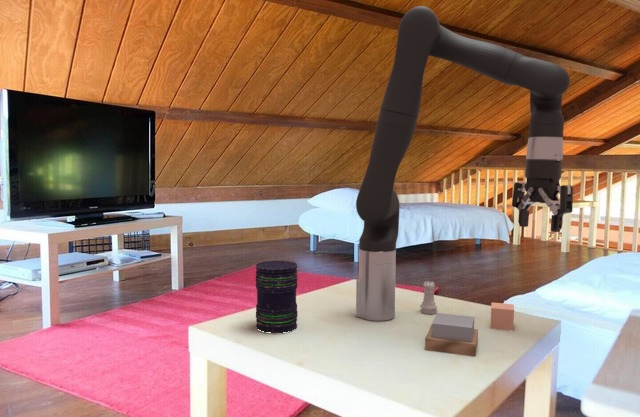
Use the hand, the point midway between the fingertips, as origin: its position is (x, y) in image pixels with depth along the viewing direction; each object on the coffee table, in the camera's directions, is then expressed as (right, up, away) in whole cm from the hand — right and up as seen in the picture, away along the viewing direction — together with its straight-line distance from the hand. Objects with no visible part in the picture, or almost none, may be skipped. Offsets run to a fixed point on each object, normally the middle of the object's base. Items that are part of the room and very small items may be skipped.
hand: (538, 229), depth 110 cm
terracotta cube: (-7, -24, +5) cm, 25 cm away
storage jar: (-60, -24, +4) cm, 65 cm away
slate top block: (-22, -22, -7) cm, 32 cm away
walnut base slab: (-22, -25, -7) cm, 34 cm away
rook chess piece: (-22, -23, +16) cm, 35 cm away
